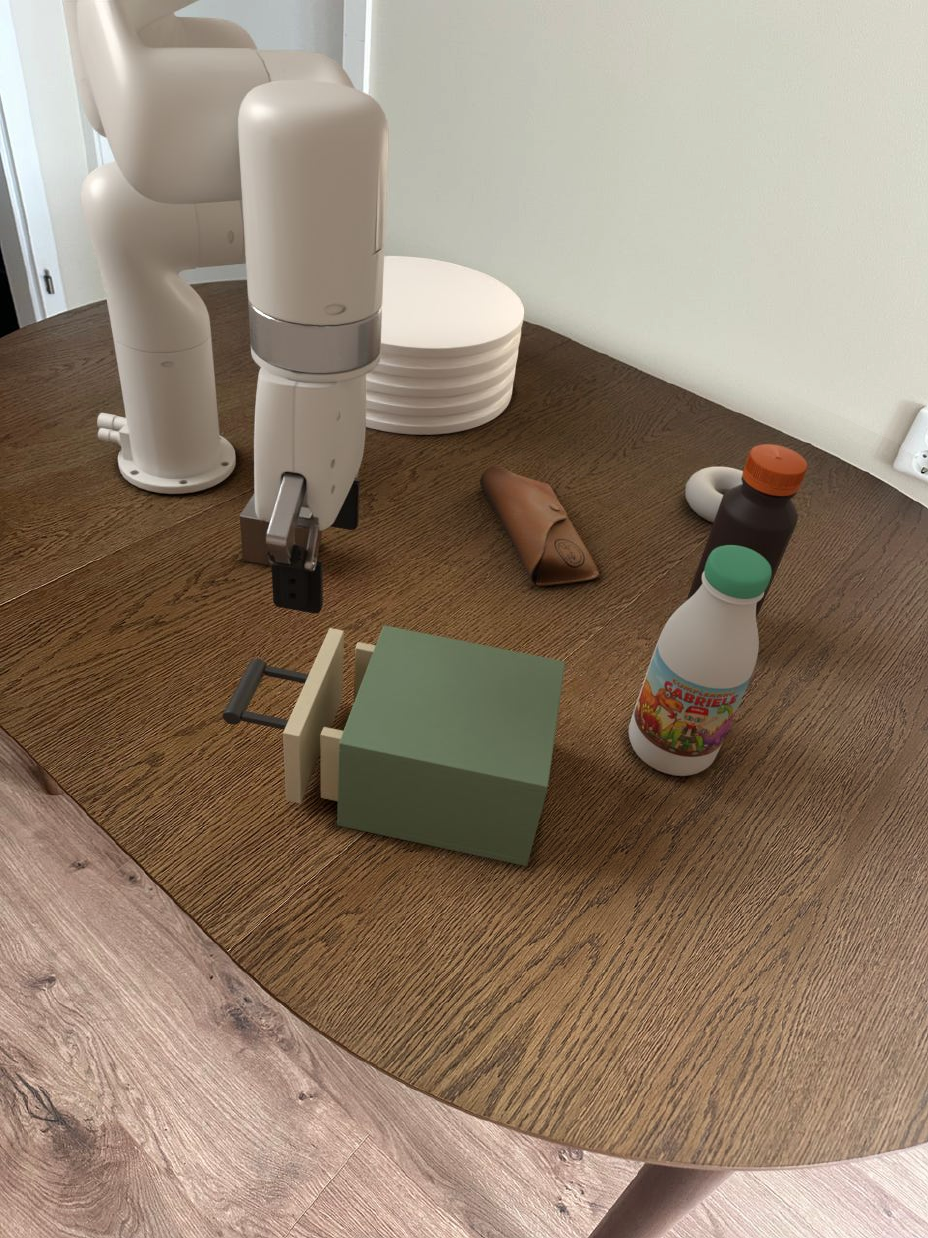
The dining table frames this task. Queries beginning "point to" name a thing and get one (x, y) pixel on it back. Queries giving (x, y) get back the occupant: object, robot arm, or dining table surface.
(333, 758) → the drawer
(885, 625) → the dining table surface
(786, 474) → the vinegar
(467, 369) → the plate stack
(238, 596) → the dining table surface
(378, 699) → the cabinet
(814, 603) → the dining table surface
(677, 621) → the milk bottle
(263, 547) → the matte grey box
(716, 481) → the donut
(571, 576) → the sunglasses case
